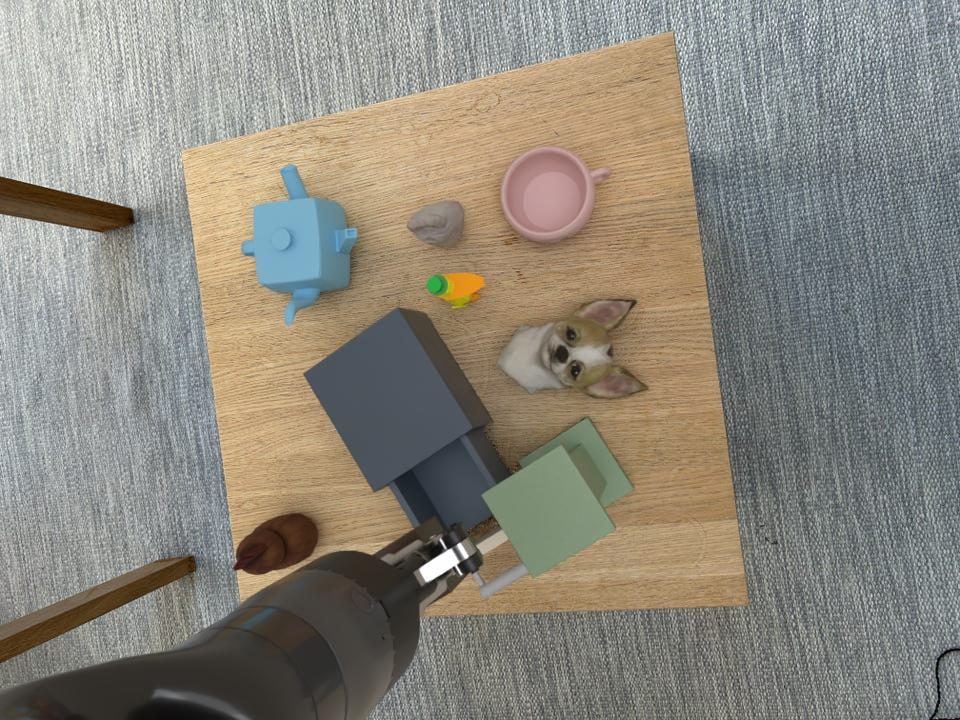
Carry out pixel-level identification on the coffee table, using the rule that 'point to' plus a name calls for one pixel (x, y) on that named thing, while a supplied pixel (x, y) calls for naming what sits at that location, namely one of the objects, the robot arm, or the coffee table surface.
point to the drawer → (459, 495)
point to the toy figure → (456, 288)
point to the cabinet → (396, 395)
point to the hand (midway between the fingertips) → (424, 561)
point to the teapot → (300, 245)
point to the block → (423, 534)
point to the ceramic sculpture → (572, 353)
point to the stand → (559, 498)
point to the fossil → (439, 223)
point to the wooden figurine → (277, 544)
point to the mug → (549, 193)
